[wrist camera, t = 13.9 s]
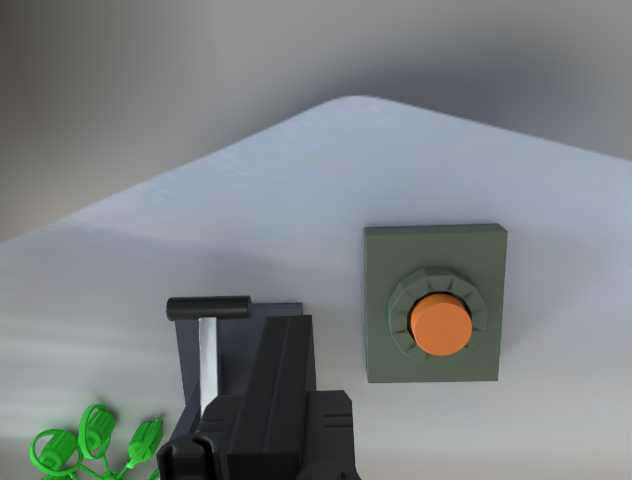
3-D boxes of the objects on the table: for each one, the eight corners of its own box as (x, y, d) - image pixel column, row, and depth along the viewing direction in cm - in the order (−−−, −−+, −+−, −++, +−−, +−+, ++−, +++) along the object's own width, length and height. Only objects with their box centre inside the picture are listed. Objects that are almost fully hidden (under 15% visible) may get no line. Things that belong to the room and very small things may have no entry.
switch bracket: (178, 305, 41) (103, 406, 28) (302, 302, 41) (286, 403, 27) (193, 433, 44) (133, 578, 31) (308, 432, 44) (297, 578, 31)
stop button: (410, 293, 36) (413, 303, 35) (467, 292, 36) (473, 302, 34) (409, 344, 37) (413, 356, 36) (465, 343, 37) (471, 355, 36)
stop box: (364, 227, 39) (367, 242, 35) (498, 223, 38) (516, 238, 35) (366, 368, 42) (369, 396, 38) (489, 366, 42) (505, 394, 38)
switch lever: (175, 296, 33) (162, 298, 31) (253, 294, 33) (246, 296, 30) (178, 489, 32) (165, 507, 30) (257, 489, 32) (250, 506, 30)
